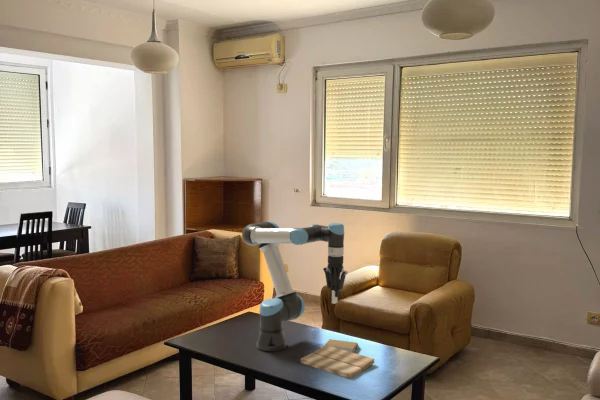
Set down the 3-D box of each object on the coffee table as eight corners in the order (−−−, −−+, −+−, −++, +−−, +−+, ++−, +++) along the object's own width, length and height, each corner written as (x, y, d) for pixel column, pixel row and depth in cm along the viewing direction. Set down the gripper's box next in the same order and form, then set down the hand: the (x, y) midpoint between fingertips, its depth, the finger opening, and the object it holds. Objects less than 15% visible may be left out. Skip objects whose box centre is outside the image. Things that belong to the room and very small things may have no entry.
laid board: (300, 362, 246) (300, 358, 246) (312, 356, 254) (312, 352, 254) (350, 378, 229) (350, 374, 229) (362, 371, 236) (362, 367, 236)
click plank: (313, 356, 254) (313, 352, 254) (325, 348, 262) (325, 344, 261) (362, 371, 236) (362, 367, 236) (374, 362, 244) (374, 358, 244)
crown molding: (351, 357, 255) (351, 350, 254) (322, 353, 260) (322, 346, 259) (358, 347, 268) (358, 340, 267) (331, 343, 273) (331, 337, 272)
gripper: (320, 254, 254) (319, 302, 257) (342, 258, 246) (341, 307, 248) (329, 252, 260) (328, 298, 262) (351, 256, 252) (350, 304, 254)
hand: (334, 302), depth 255 cm, fingers closed
